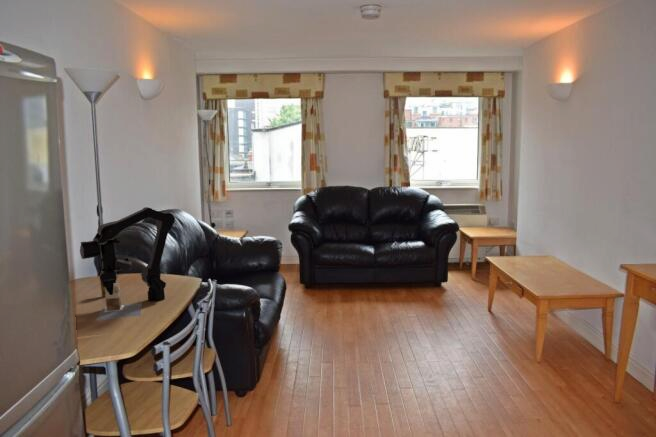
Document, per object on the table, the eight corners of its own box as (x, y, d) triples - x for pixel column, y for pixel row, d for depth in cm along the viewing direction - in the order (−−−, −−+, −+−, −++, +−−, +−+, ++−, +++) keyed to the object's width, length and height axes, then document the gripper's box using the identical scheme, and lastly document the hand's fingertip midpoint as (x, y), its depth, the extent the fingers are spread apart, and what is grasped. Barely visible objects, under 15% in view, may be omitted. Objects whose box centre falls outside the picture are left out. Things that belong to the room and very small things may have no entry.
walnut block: (121, 306, 229) (119, 294, 228) (120, 309, 224) (118, 297, 223) (108, 307, 227) (107, 295, 227) (107, 311, 223) (105, 299, 222)
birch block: (107, 295, 227) (106, 284, 226) (120, 294, 228) (119, 283, 227) (105, 299, 222) (104, 287, 221) (118, 297, 223) (117, 286, 222)
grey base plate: (142, 304, 233) (142, 302, 232) (140, 317, 215) (140, 315, 215) (102, 309, 228) (102, 307, 228) (96, 322, 211) (96, 320, 211)
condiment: (107, 299, 243) (105, 272, 241) (95, 296, 247) (92, 271, 245) (121, 294, 249) (118, 269, 248) (108, 292, 254) (106, 267, 252)
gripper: (127, 257, 215) (131, 295, 218) (131, 248, 233) (134, 284, 236) (97, 260, 213) (101, 298, 215) (103, 251, 230) (107, 286, 233)
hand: (112, 291), depth 225 cm, fingers open, 9 cm apart
